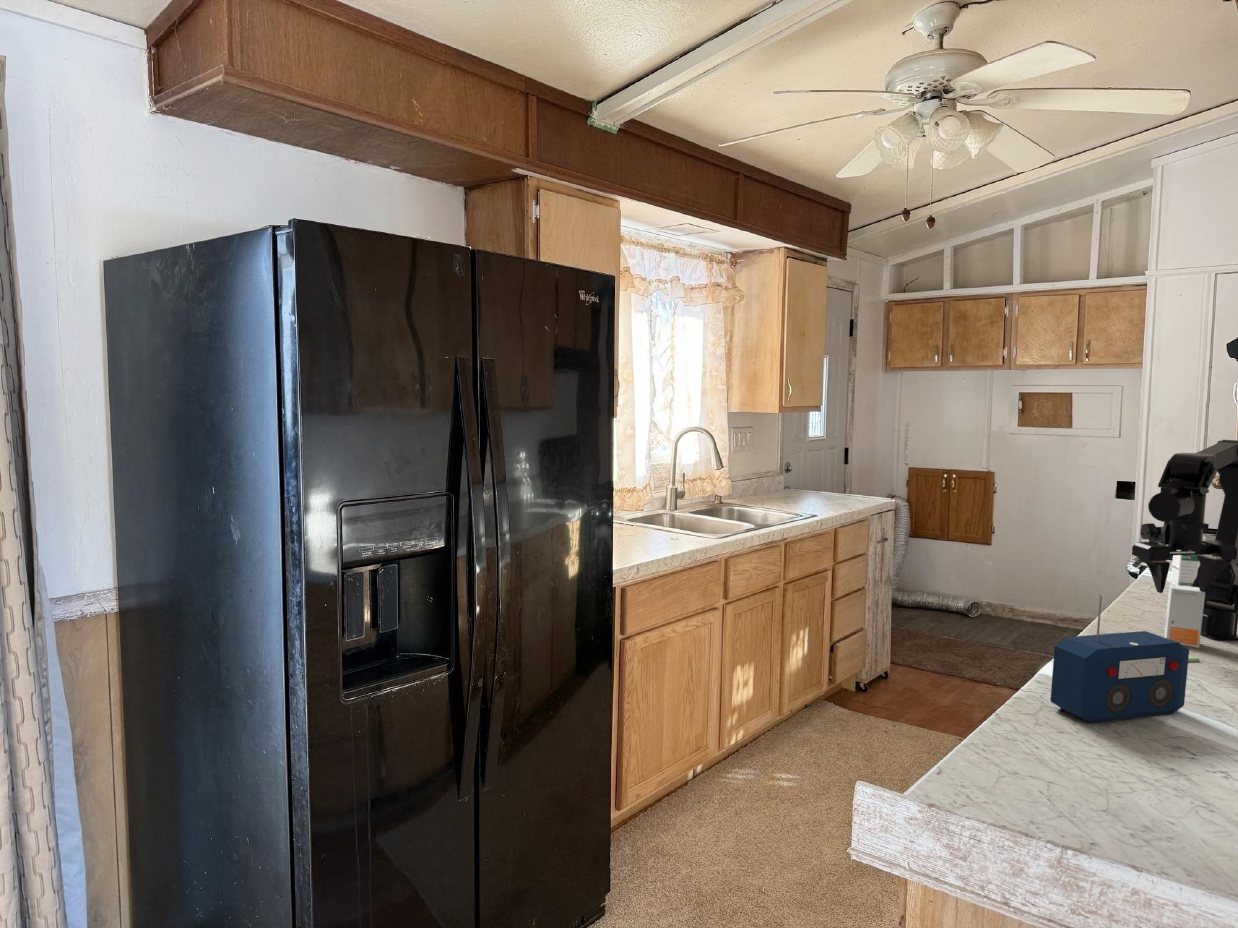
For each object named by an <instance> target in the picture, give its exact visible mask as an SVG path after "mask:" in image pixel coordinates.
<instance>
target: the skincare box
mask: <svg viewBox="0 0 1238 928" xmlns="http://www.w3.org/2000/svg"><path fill="white" fill-rule="evenodd" d="M1168 585H1169V587H1168V594H1167V595H1168V596H1167V605H1166V612H1165V613H1166V614H1165V623H1164V633H1163V637H1164V638H1167V639H1170V640H1173V641H1176V642H1179V643H1180V644H1182V645H1183V646H1185V647H1191V648H1197V649H1199V648H1200V642H1201V635H1202V634H1201V626H1202V617H1203V608H1204V599H1205V592H1201V591H1200V588H1198V587H1190V586H1179V585H1173V584H1171V583H1169V584H1168Z"/></svg>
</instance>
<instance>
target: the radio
mask: <svg viewBox="0 0 1238 928" xmlns="http://www.w3.org/2000/svg"><path fill="white" fill-rule="evenodd" d="M1102 600H1103V594H1099V604H1098V617H1097V627H1096V628H1097V630H1096V634H1090V635H1089V634H1088V635H1078V636H1077V635H1075V636H1066V637H1065V638H1064V639H1062V640H1060V642H1058V643H1056V644H1055V645H1054V648H1053V649H1054V651H1053V662H1052V674H1051V675H1052V676H1051V677H1052V678H1051V690H1050V702H1051V703H1052V704H1053V705H1056V706H1057V707H1059V708H1060V709H1062V710H1065V711H1066V712H1068V713H1070V714H1072V715H1074V716H1076V717H1078V718H1081V719H1083V720H1084V721H1086V722H1088V723H1090V724H1098V723H1099V724H1100V723H1107V722H1115V721H1116V722H1117V720H1118V721H1125V720H1126V721H1127V720H1134V719H1143V718H1144V719H1145V718H1153V717H1154V718H1155V717H1162V716H1163V717H1164V716H1172V715H1174V714H1175V713H1176V712H1178V711H1179V710H1180V709H1182V708H1183V707H1184V706H1185V697H1186V689H1187V677H1188V667H1189V662H1188V658H1189V654H1190V649H1189V648H1188V647H1187V646H1183V645H1182V644H1180V643H1179V642H1176V641H1173V640H1170V639H1167V638H1164V636H1160V635H1158V634H1156V633H1152V632H1149V631H1146V630H1142V631H1140V630H1139V631H1130V632H1129V631H1127V632H1116V633H1113V632H1112V633H1101V634H1100V625H1101V614H1102V612H1101V611H1102Z"/></svg>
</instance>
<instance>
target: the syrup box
mask: <svg viewBox="0 0 1238 928" xmlns="http://www.w3.org/2000/svg"><path fill="white" fill-rule="evenodd" d="M1202 541H1207V537H1206V536H1205V535H1204V534H1203V539H1202ZM1176 551H1181V550H1176ZM1188 551H1191V550H1188ZM1171 564H1172V565H1171V579H1170V584H1171V585H1179V586H1190V587H1193V582H1194V580H1195V579H1196V577H1197V573H1198V568H1199V567H1200V562H1199V560H1198V557H1197V555H1172V563H1171Z"/></svg>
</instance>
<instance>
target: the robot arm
mask: <svg viewBox="0 0 1238 928" xmlns="http://www.w3.org/2000/svg"><path fill="white" fill-rule="evenodd" d="M1217 474H1218V475H1219V477H1218V483H1219V486H1220V487H1221V490H1222V491H1223V493H1224V497H1223V503H1222V505H1221V510H1220V516H1219V520H1218V524H1217V530H1216V534H1215V539H1214V540H1206V541H1202V539H1203V535H1204V530H1209V525H1210V524H1209V523H1208V522H1207V523H1206V522H1205V515H1206V514H1205V512H1206V501H1207V494H1209V493H1210V490H1209V488H1210V486H1211V485H1212V483H1213V480H1215V478H1216V476H1217ZM1157 487H1158V488H1160V491H1159V492H1158V493H1156V494H1155V495H1153V496H1151V498H1150V500H1149V502H1148V504H1147V505H1148V506H1147V507H1148V511H1149V513H1150V515H1151V516H1152V518H1154V519H1155V520H1157V521H1159V522H1162V523H1163V526H1156V524H1155V523H1153V522H1152V523H1151V522H1150V523H1143V524H1141V526H1140V537H1141V539H1142V540H1148V541H1136V542H1135V543H1134V544H1133V545H1132V548H1131V556H1135V557H1136V558H1138V560H1140V561H1142V562H1144V563H1145V564H1146V566H1147V568H1148V570H1149V572H1150V575H1151V577H1152V581H1153V584H1154V587H1155V590H1156V592H1157V593H1159V594H1163V593H1164V589H1165V587H1166V582H1167V579H1168V574H1169V571H1170V567H1171V566H1170V565H1171V562H1169V561H1167V560H1168V559H1170V556H1173V555H1197V557H1198V560H1199V562H1200V567H1199V568H1198V573H1197V577H1196V579H1195V580H1194V582H1193V587H1198V588H1200V591H1201V592H1205V599H1204V608H1203V617H1202V626H1201V635H1202V636H1205V637H1207V638H1210V639H1212V640H1216V641H1217V640H1221V641H1223V640H1233V641H1234V640H1238V635H1237V634H1238V440H1234V439H1222V440H1218V441H1217V443H1215V444H1213V445H1211V446H1208V447H1206V448H1203V449H1202V450H1200V451H1197V452H1179V453H1174V454H1173V455H1172V456H1171V457H1170V458H1169V459H1168V461H1167V463H1166V465H1165V467H1164V470H1163V473H1162V475H1161V477H1160V480H1159V482H1158V484H1157ZM1176 550H1181V551H1176ZM1188 550H1191V551H1188Z"/></svg>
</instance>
